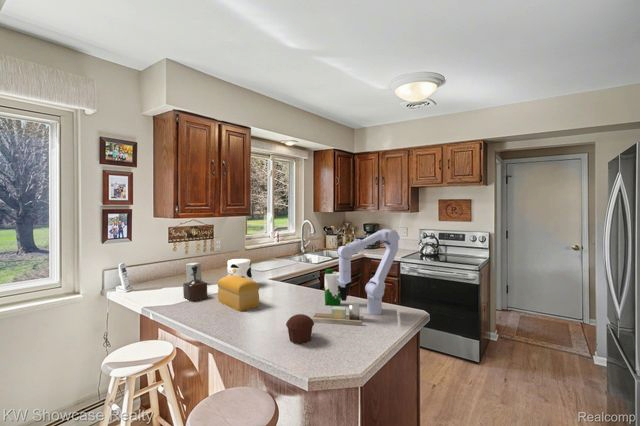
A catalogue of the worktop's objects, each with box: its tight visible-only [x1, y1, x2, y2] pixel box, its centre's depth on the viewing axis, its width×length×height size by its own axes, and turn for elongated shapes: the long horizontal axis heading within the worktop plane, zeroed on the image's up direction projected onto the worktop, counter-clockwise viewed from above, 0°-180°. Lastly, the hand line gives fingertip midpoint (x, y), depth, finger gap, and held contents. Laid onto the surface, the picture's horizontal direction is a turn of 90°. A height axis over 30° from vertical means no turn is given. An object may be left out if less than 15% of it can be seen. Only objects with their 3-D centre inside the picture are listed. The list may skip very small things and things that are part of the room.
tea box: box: [331, 305, 347, 319], centre depth 150 cm, size 5×6×6 cm
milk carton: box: [324, 268, 342, 307], centre depth 176 cm, size 9×9×20 cm
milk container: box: [226, 258, 254, 281], centre depth 217 cm, size 17×17×18 cm
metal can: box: [348, 302, 361, 320], centre depth 152 cm, size 5×5×7 cm
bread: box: [217, 275, 260, 312], centre depth 180 cm, size 24×13×15 cm, turn 44°
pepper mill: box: [182, 266, 208, 302], centre depth 193 cm, size 16×11×18 cm
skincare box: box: [185, 262, 203, 283], centre depth 219 cm, size 8×7×16 cm
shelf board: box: [309, 312, 364, 327], centre depth 152 cm, size 12×24×3 cm, turn 78°
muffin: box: [285, 313, 315, 345], centre depth 132 cm, size 12×11×10 cm
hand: (344, 298), depth 156 cm, fingers open, 7 cm apart
